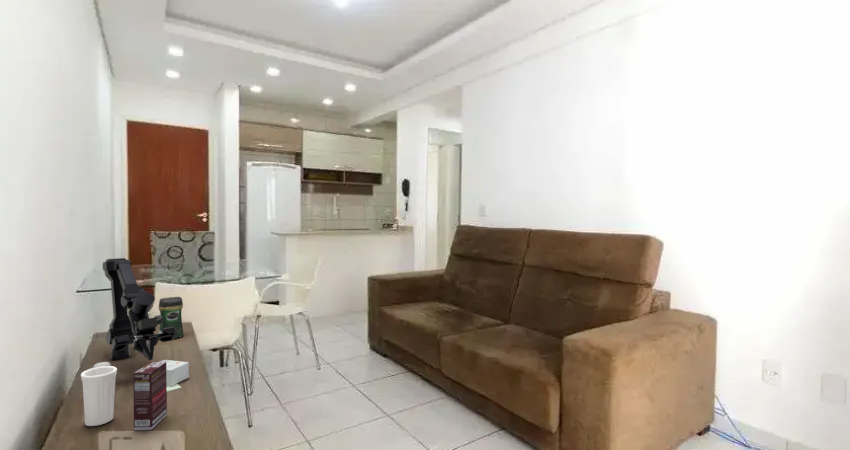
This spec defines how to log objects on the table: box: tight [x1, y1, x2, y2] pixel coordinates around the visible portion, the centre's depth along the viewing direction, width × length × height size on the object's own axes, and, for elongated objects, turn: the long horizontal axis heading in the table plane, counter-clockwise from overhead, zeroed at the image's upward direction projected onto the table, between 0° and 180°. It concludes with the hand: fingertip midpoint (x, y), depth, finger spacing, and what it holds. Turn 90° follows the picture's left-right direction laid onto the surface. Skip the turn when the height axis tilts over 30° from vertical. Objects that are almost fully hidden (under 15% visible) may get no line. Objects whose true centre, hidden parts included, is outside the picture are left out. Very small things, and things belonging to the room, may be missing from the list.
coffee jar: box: [158, 296, 184, 340], centre depth 194 cm, size 10×8×19 cm
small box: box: [158, 359, 190, 386], centre depth 147 cm, size 8×6×10 cm
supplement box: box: [132, 361, 168, 431], centre depth 118 cm, size 9×5×16 cm, turn 5°
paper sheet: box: [167, 383, 182, 393], centre depth 141 cm, size 11×10×1 cm
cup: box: [80, 365, 118, 427], centre depth 118 cm, size 8×8×14 cm
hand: (151, 359), depth 146 cm, fingers closed
